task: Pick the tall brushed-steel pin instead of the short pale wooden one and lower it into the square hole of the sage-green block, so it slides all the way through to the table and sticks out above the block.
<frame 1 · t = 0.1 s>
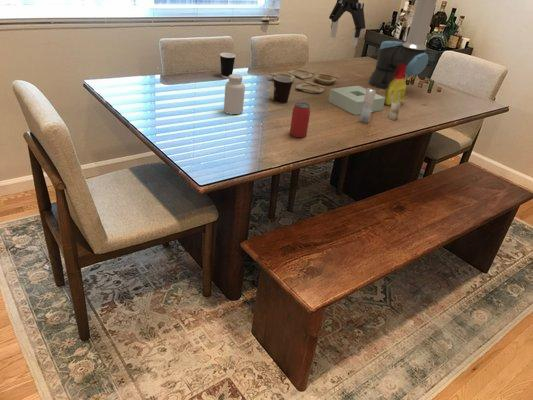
hand: (342, 41, 189), 28 cm above the table, tool pointing down, fingers open, 13 cm apart
pin block: (355, 105, 204), on the table
short pin: (392, 118, 195), on the table
dixie cup: (226, 77, 221), on the table
bottle: (391, 104, 212), on the table
coffee mug: (281, 100, 201), on the table
pill bottle: (233, 112, 182), on the table
long pin: (363, 121, 188), on the table
beer can: (297, 135, 168), on the table
tableware set: (304, 83, 229), on the table
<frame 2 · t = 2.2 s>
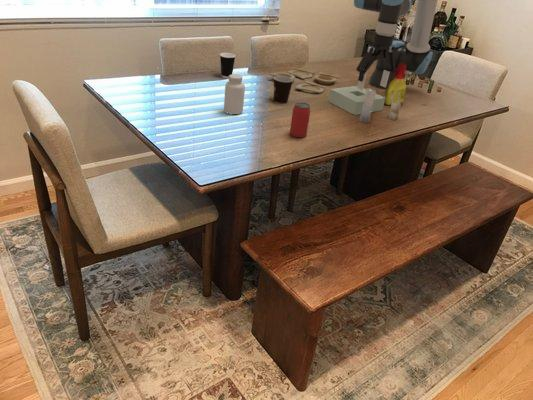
hand: (371, 87, 180), 15 cm above the table, tool pointing down, fingers open, 13 cm apart
nothing on the table moved.
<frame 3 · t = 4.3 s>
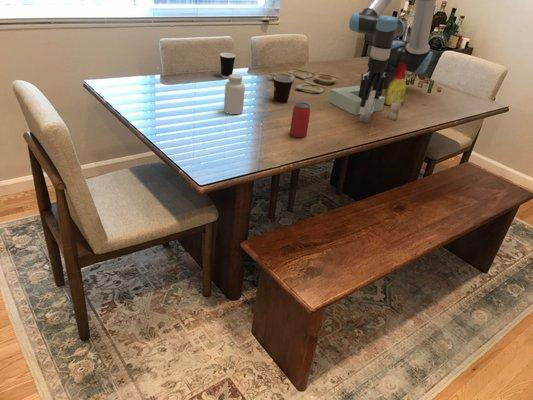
hand: (365, 113, 186), 4 cm above the table, tool pointing down, fingers closed on long pin, 4 cm apart
long pin: (363, 121, 188), on the table, touching gripper
everything else where it was.
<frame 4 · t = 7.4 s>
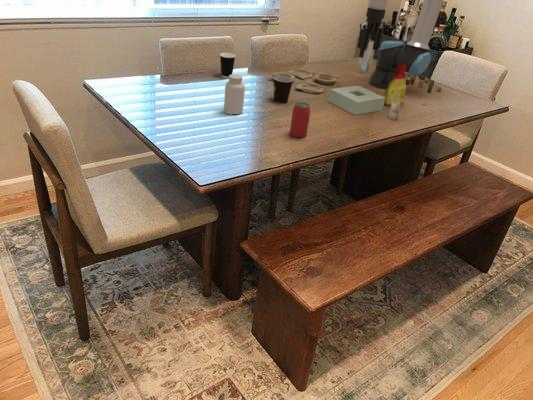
hand: (364, 64, 194), 19 cm above the table, tool pointing down, fingers closed on long pin, 4 cm apart
long pin: (362, 72, 196), point 16 cm above the table, touching gripper
everything else where it was.
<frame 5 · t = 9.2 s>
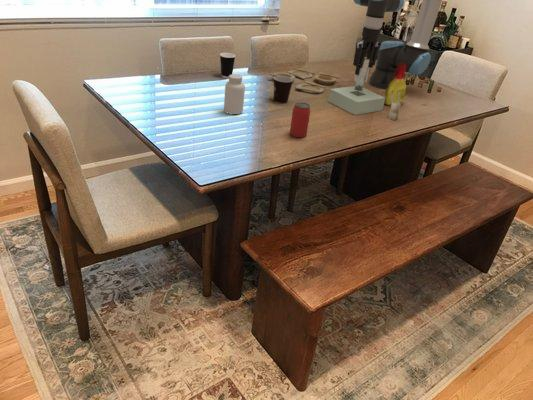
hand: (360, 81, 198), 12 cm above the table, tool pointing down, fingers closed on long pin, 4 cm apart
long pin: (358, 89, 200), point 8 cm above the table, touching gripper
everything else where it was.
when the fingers open (8 cm above the table, at t = 10.7 s): long pin drops 4 cm, resting in pin block.
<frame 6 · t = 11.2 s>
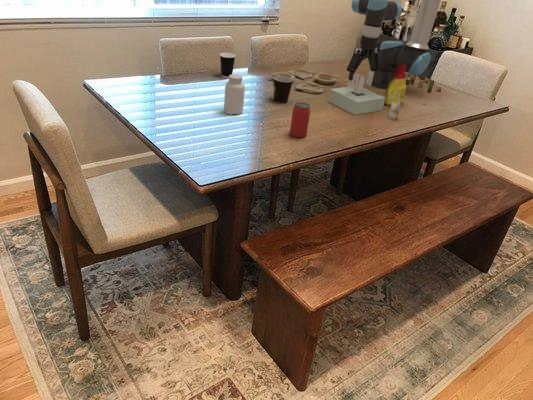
hand: (359, 86, 199), 9 cm above the table, tool pointing down, fingers open, 11 cm apart
long pin: (355, 105, 204), resting in pin block
everything else where it was.
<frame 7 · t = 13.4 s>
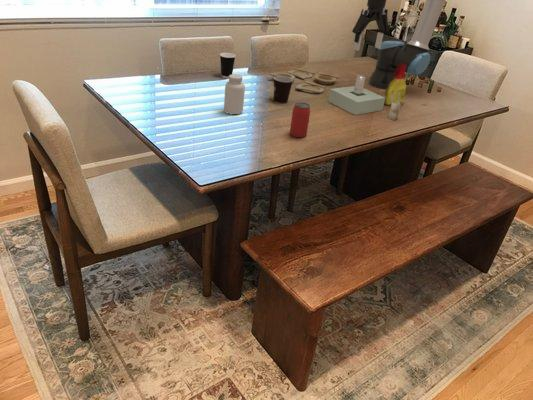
hand: (366, 49, 193), 25 cm above the table, tool pointing down, fingers open, 13 cm apart
nothing on the table moved.
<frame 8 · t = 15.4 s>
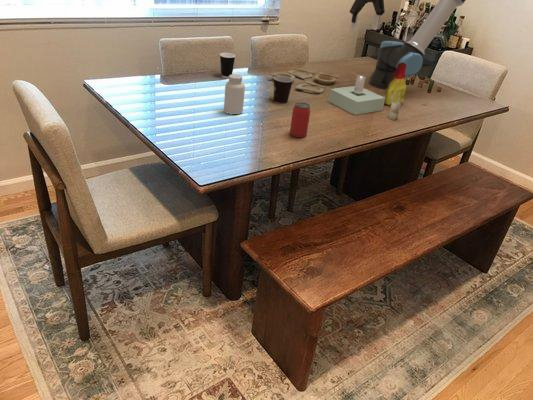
hand: (363, 29, 202), 31 cm above the table, tool pointing down, fingers open, 13 cm apart
nothing on the table moved.
at the end: long pin 0.1 cm off-centre on the pin block, point 0.0 cm above the pin block's base; long pin tilted 0°; short pin moved 0.0 cm from its start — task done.
